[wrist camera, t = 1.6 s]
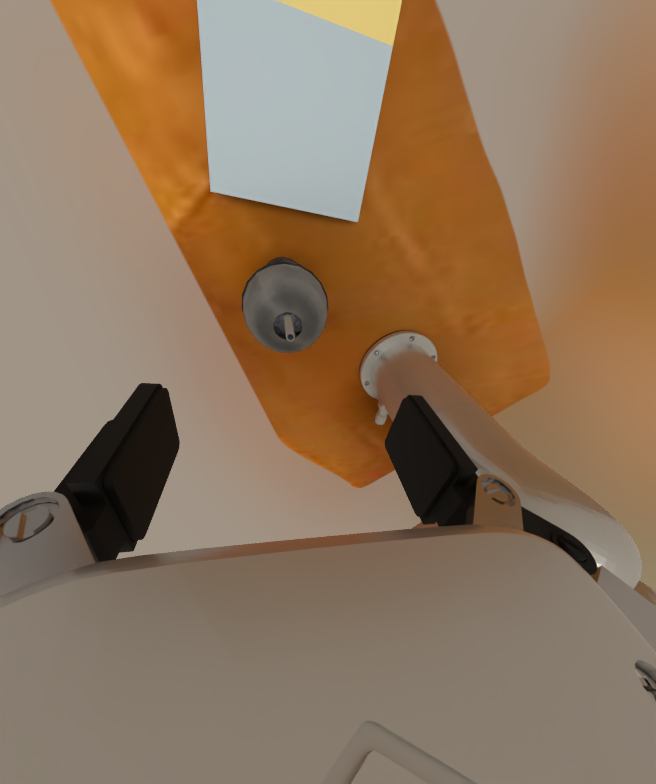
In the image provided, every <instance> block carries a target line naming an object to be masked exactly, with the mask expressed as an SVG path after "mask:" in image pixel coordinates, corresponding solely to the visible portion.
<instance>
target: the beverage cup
mask: <svg viewBox="0 0 656 784" xmlns="http://www.w3.org/2000/svg"><path fill="white" fill-rule="evenodd" d="M242 311H243V314H244V317H245V320H246V323H247V326H248V328H249V330H250V331H251V333H252V334H253V336H254V337H255V338H256V339H257V340H258V341H259V342H260V343H262V344H263V345H264V346H265V347H267V348H270V349H272V350H274V351H277V352H285V353H291V352H297V351H301V350H303V349H305V348H307V347H309V346H310V345H311V344H313V343H314V342H315V341H316V340H317V339H318V338H319V336H320V335H321V333H322V331H323V329H324V328H325V324H326V319H327V314H328V301H327V295H326V292H325V290H324V288H323V285H322V283H321V282H320V281H319V280H318V279H317V277H316V276H315V275H314V274H313V273H312V272H311V271H309V270H307V269H306V268H304V267H302V266H301V265H299V264H297V263H296V262H294V261H292V260H291V259H289V258H285V257H278V258H275V259H273V260H271V261H270V262H269V263H268V264H267V265H266V266H264V267H263V268H261V269H259V270H257V271H256V272H255V273H254V274H253V275H252V277H251V278H250V279H249V280H248V281H247V284H246V286H245V289H244V291H243V294H242Z"/></svg>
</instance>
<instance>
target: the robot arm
mask: <svg viewBox="0 0 656 784" xmlns="http://www.w3.org/2000/svg"><path fill="white" fill-rule="evenodd" d="M437 360H438V359H437V351H436V348H435V346H434V344H433V343H432V342H431V341H430V340H429V339H428V338H427V337H425V336H424V335H423V334H420V333H418V332H414V331H400V332H395V333H392V334H390V335H387V336H385V337H384V338H382V339H380V340H379V341H378V342H376V343H375V344H374V345H373V346H372V347H371V348H370V349H369V350H368V352H367V353H366V355H365V356H364V358H363V360H362V363H361V366H360V380H361V384H362V386H363V388H364V390H365V391H366V392H367V393H368V394H369V395H370V396H371V397H373V398H375V399H377V400H378V411H377V413H376V415H375V418H374V422H375V423H376V424H379V425H383V424H384V423H385V421H386V419H387V416H388V414H389V416H390V418H391V420H392V422H393V423H392V426H391V428H390V430H389V433H388V435H387V437H386V440H385V448H386V450H387V452H388V454H389V457H390V459H391V461H392V463H393V465H394V468H395V470H396V472H397V474H398V476H399V479H400V481H401V483H402V485H403V488H404V490H405V492H406V494H407V496H408V499H409V501H410V503H411V505H412V508H413V509H414V512H415V514H416V515H417V516H418V517H420V519H421V521H422V522H421V523H419V524H418V525H416V526H415V527H413V528H412V529H405V530H393V531H383V532H371V533H360V534H349V535H338V536H327V537H317V538H306V539H295V540H285V541H275V542H265V543H255V544H244V545H234V546H224V547H214V548H204V549H195V550H185V551H177V552H168V553H160V554H151V555H142V556H135V557H128V558H122V559H116V558H117V555H118V553H119V552H130V551H134V548H135V546H136V543H137V541H138V540H142V539H143V538H144V537H145V535H146V532H147V530H148V527H149V525H150V522H151V520H152V517H153V515H154V512H155V509H156V507H157V504H158V502H159V499H160V496H161V494H162V491H163V489H164V486H165V483H166V481H167V478H168V476H169V473H170V471H171V468H172V465H173V463H174V460H175V457H176V455H177V453H178V450H179V437H178V433H177V428H176V423H175V419H174V415H173V410H172V406H171V401H170V397H169V392H168V390H167V389H166V388H163V387H162V385H161V384H149V383H141V384H140V385H139V386H138V387H137V388H136V390H135V391H134V392H133V394H132V395H131V397H130V398H129V399H128V400H127V402H126V403H125V405H124V406H123V407H122V409H121V410H120V411H119V413H118V414H117V415H116V417H115V418H114V419H113V420H111V421H108V422H107V423H106V424H105V425H104V426H103V428H102V429H101V430H100V432H99V433H98V434H97V436H96V437H95V438H94V440H93V441H92V442H91V444H90V445H89V446H88V447H87V449H86V450H85V452H84V453H83V454H82V455H81V457H80V458H79V459H78V461H77V462H76V463H75V465H74V466H73V467H72V468H71V470H70V471H69V473H68V474H67V475H66V476H65V478H64V479H63V480H62V482H61V483H60V484H59V486H58V487H57V488H56V489H55V491H54V492H41V493H36V494H31V495H29V496H26V497H23V498H20V499H18V500H16V501H14V502H12V503H10V504H8V505H6V506H5V507H3V508H2V509H1V510H0V784H656V591H655V590H654V589H652V588H651V587H649V586H647V585H646V584H644V583H642V582H641V581H639V578H640V576H641V571H642V563H641V557H640V554H639V551H638V549H637V547H636V545H635V543H634V541H633V540H632V538H631V537H630V535H629V534H628V532H627V531H626V530H625V529H624V527H622V525H621V524H620V523H619V522H618V521H617V520H616V519H615V518H614V517H613V516H612V515H611V514H610V513H609V512H608V511H606V510H605V509H604V508H603V507H602V506H601V505H599V504H598V503H597V502H596V501H594V500H593V499H592V498H591V497H590V496H588V495H587V494H586V493H584V492H583V491H582V490H580V489H579V488H578V487H576V486H575V485H574V484H572V483H571V482H570V481H568V480H567V479H566V478H564V477H563V476H561V475H560V474H559V473H557V472H556V471H555V470H553V469H552V468H551V467H549V466H548V465H547V464H545V463H544V462H543V461H542V460H540V459H539V458H538V457H537V456H535V455H534V454H533V453H532V452H530V451H529V450H528V449H527V448H525V447H524V446H523V445H522V444H521V443H520V442H518V441H517V440H516V439H515V438H514V437H513V436H512V435H511V434H510V433H509V432H507V431H506V430H505V429H504V428H503V427H502V426H501V425H500V424H499V423H498V422H497V421H496V420H495V419H494V418H493V417H492V416H491V415H490V414H489V413H488V412H487V411H486V410H484V409H483V408H482V407H481V406H480V405H479V404H478V403H477V402H476V401H475V400H474V399H473V398H472V397H471V396H470V395H469V394H468V393H467V392H466V391H465V390H464V389H463V388H462V387H461V386H460V385H459V384H458V383H457V382H456V381H455V380H454V379H453V378H452V377H451V376H450V375H449V374H448V373H447V372H446V371H445V370H444V369H443V368H442V367H441V366H440V365H439V364H438V363H437Z"/></svg>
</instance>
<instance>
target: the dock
mask: <svg viewBox="0 0 656 784" xmlns="http://www.w3.org/2000/svg"><path fill="white" fill-rule="evenodd" d="M401 3H402V0H197V6H198V20H199V34H200V49H201V63H202V77H203V91H204V105H205V119H206V134H207V148H208V162H209V176H210V190H211V192H215V193H220V194H225V195H230V196H234V197H239V198H244V199H249V200H254V201H258V202H263V203H268V204H273V205H278V206H282V207H287V208H292V209H297V210H302V211H306V212H311V213H316V214H321V215H326V216H330V217H335V218H340V219H345V220H350V221H354V222H358V219H359V214H360V209H361V204H362V198H363V193H364V188H365V183H366V178H367V173H368V168H369V163H370V158H371V153H372V148H373V143H374V138H375V133H376V128H377V123H378V118H379V113H380V108H381V103H382V98H383V93H384V88H385V83H386V78H387V73H388V68H389V63H390V58H391V53H392V48H393V43H394V38H395V33H396V28H397V23H398V18H399V13H400V8H401Z"/></svg>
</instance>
